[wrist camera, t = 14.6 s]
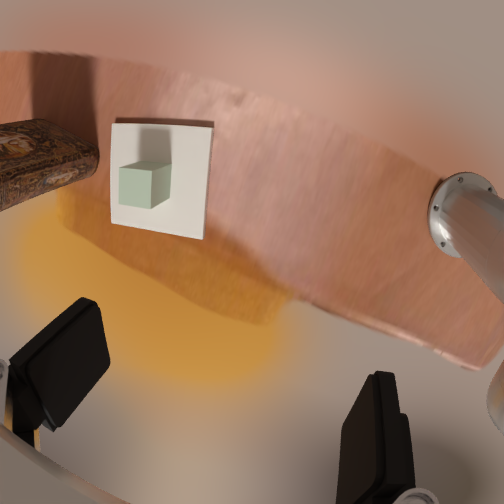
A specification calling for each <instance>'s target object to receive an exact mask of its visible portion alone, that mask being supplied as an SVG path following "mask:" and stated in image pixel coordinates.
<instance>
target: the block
mask: <svg viewBox="0 0 504 504" xmlns="http://www.w3.org/2000/svg"><path fill="white" fill-rule="evenodd" d="M171 171H172V164H168V163H159V162H149V161H139V162H135V163H132V164H129V165H125V166H122V167H119V204H121V205H127V206H133V207H139V208H145V209H152V208H154V207H155V206H157V205H159V204H161V203H162V202H164V201H166V200H167V199H169V198H170V187H171Z"/></svg>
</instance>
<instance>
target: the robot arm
mask: <svg viewBox="0 0 504 504" xmlns="http://www.w3.org/2000/svg"><path fill="white" fill-rule="evenodd" d="M458 178H459V180H458ZM434 206H435V208H434ZM428 227H429V232H430V234H431V237H432V239H433V240H434V242H435V244H436V245H437V246H438V247H439V248H440V249H441V250H442V251H443V252H444V253H446V254H448V255H450V256H452V257H456V258H463V259H464V260H465V261H466V262H467V263H468V264H469V265H470V267H471V268H472V269H473V270H474V271H475V272H476V273H477V275H478V276H479V277H480V278H481V279H482V280H483V282H484V283H485V284H486V285H487V286H488V288H489V289H490V290H491V291H492V292H493V293H494V295H495V296H496V297H497V298H498V299H499V300H500V301H501V302H502V303H504V199H502V198H500V197H498V195H497V193H496V191H495V189H494V187H493V186H492V185H491V183H490V182H489V181H488V180H486V179H485V178H484V177H482V176H480V175H478V174H475V173H471V172H461V173H457V174H454V175H452V176H450V177H448V178H447V179H445V180H444V181H443V182H442V183H441V184H440V185H439V187H438V188H437V189H436V191H435V192H434V194H433V197H432V199H431V201H430V205H429V209H428ZM441 242H442V243H441ZM9 361H10V365H9V366H8V365H7V363H6V362H5V361H4V360H2V359H0V504H130V503H128V502H125V501H123V500H121V499H119V498H117V497H115V496H113V495H111V494H109V493H107V492H105V491H103V490H101V489H99V488H97V487H96V486H94V485H92V484H90V483H88V482H87V481H85V480H83V479H81V478H80V477H78V476H76V475H74V474H73V473H71V472H69V471H68V470H66V469H64V468H63V467H61V466H60V465H58V464H56V463H55V462H53V461H52V460H50V459H49V458H47V457H46V456H44V455H43V454H42V453H41V452H40V440H39V426H40V425H41V424H43V425H44V426H45V427H46V428H48V429H50V430H51V431H53V432H54V431H55V430H56V428H57V427H61V426H62V425H63V424H64V423H65V421H66V420H67V419H68V418H69V417H70V415H71V414H72V413H73V411H74V410H75V409H76V408H77V406H78V405H79V404H80V403H81V401H82V400H83V399H84V398H85V396H86V395H87V394H88V393H89V391H90V390H91V389H92V388H93V387H94V385H95V384H96V383H97V382H98V380H99V379H100V378H101V377H102V375H103V374H104V373H105V372H106V370H107V369H108V368H109V366H110V357H109V352H108V348H107V342H106V338H105V333H104V327H103V322H102V316H101V311H100V308H99V307H98V305H97V303H96V302H95V301H92V300H90V299H87V298H84V297H81V298H79V299H78V300H77V301H76V302H74V303H73V304H72V305H71V306H70V307H68V308H67V309H66V310H65V311H64V312H62V313H61V314H60V315H59V316H58V317H57V318H55V319H54V320H53V321H52V322H51V323H49V324H48V325H47V326H46V327H45V328H44V329H43V330H41V331H40V332H39V333H38V334H37V335H36V336H35V337H33V338H32V339H31V340H30V341H29V342H28V343H27V344H26V345H24V347H22V348H21V349H20V350H19V351H18V352H17V353H16V354H15V355H13V356H12V357H11V358H10V359H9ZM486 402H487V409H488V413H489V415H490V417H491V419H492V421H493V423H494V425H495V426H496V427H497V429H498V430H499V431H500V432H501V433H502V434H503V435H504V360H503V362H502V364H501V366H500V367H499V369H498V371H497V372H496V374H495V376H494V378H493V379H492V381H491V383H490V386H489V389H488V392H487V400H486ZM336 504H439V502H438V500H437V498H436V496H435V495H434V494H432V492H430V491H428V490H426V489H422V488H416V486H415V473H414V462H413V452H412V443H411V436H410V428H409V421H408V417H407V415H406V414H404V413H400V407H399V400H398V394H397V387H396V381H395V376H394V373H391V372H383V371H376V372H375V373H374V375H373V374H370V375H369V376H368V377H367V379H366V381H365V383H364V385H363V387H362V389H361V391H360V393H359V395H358V397H357V399H356V401H355V403H354V405H353V407H352V409H351V411H350V412H349V414H348V416H347V418H346V419H345V421H344V423H343V426H342V430H341V446H340V462H339V475H338V486H337V496H336Z"/></svg>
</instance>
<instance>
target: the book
mask: <svg viewBox="0 0 504 504" xmlns="http://www.w3.org/2000/svg"><path fill="white" fill-rule="evenodd" d="M99 157H100V156H99V150H98V148H97V147H96V146H94V145H92V144H90V143H88V142H86V141H85V140H83V139H81V138H79V137H77V136H75V135H73V134H71V133H69V132H68V131H66V130H64V129H62V128H60V127H58V126H56V125H54V124H52V123H50V122H48V121H46V120H44V119H32V120H25V121H18V122H12V123H6V124H0V212H1V211H3V210H5V209H8V208H10V207H12V206H14V205H17V204H19V203H22V202H24V201H26V200H29V199H31V198H34V197H36V196H38V195H41V194H44V193H46V192H49V191H51V190H54V189H57V188H59V187H62V186H65V185H68V184H70V183H73V182H76V181H79V180H82V179H85V178H87V177H90V176H92V175H93V174H94V173H95V171H96V169H97V167H98V164H99Z"/></svg>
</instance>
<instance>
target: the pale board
mask: <svg viewBox="0 0 504 504" xmlns="http://www.w3.org/2000/svg"><path fill="white" fill-rule="evenodd" d="M213 134H214V128H211V127H198V126H184V125H167V124H138V123H113V124H112V135H111V170H110V191H111V223H114V224H120V225H125V226H131V227H136V228H142V229H147V230H153V231H158V232H163V233H169V234H174V235H180V236H185V237H191V238H196V239H201V240H203V239H204V238H205V227H206V213H207V200H208V188H209V176H210V165H211V154H212V144H213ZM139 161H149V162H159V163H168V164H172V171H171V187H170V198H169V199H167V200H166V201H164V202H162V203H161V204H159V205H157V206H155V207H154V208H152V209H145V208H139V207H133V206H127V205H121V204H119V167H122V166H125V165H129V164H132V163H135V162H139Z"/></svg>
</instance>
